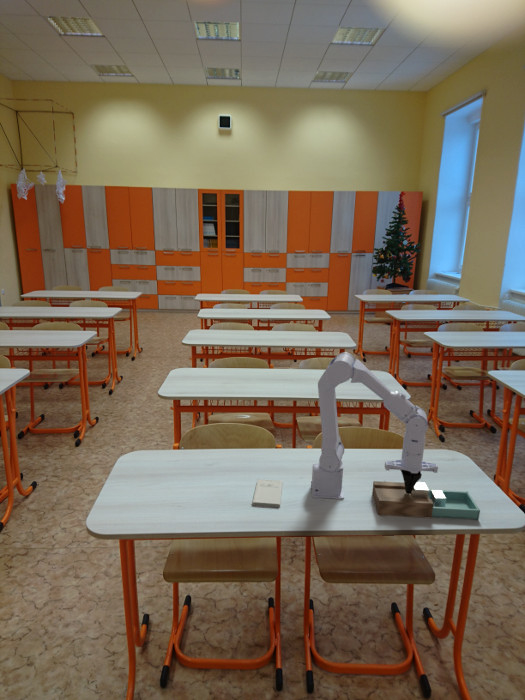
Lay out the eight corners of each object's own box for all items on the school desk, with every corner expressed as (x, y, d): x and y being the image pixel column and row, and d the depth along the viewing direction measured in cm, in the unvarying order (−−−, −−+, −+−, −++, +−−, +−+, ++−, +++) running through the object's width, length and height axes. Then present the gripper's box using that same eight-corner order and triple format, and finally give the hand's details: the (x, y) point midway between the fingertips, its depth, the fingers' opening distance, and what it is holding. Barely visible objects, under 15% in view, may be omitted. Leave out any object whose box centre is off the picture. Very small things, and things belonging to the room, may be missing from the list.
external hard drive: (252, 506, 130) (257, 483, 142) (280, 508, 129) (282, 485, 141) (252, 502, 130) (257, 478, 142) (280, 504, 129) (282, 480, 141)
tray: (431, 517, 126) (433, 507, 125) (422, 497, 135) (423, 489, 134) (478, 519, 125) (480, 510, 124) (466, 500, 134) (467, 491, 133)
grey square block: (413, 498, 127) (414, 489, 127) (410, 490, 131) (411, 481, 130) (427, 499, 127) (429, 490, 126) (423, 491, 131) (425, 482, 130)
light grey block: (435, 498, 127) (446, 498, 127) (431, 490, 131) (441, 490, 131) (434, 510, 128) (444, 510, 128) (430, 501, 132) (440, 502, 132)
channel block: (378, 514, 126) (379, 500, 125) (372, 494, 136) (373, 481, 135) (431, 517, 125) (433, 503, 124) (421, 497, 135) (423, 483, 134)
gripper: (390, 455, 122) (385, 498, 126) (443, 458, 121) (437, 501, 125) (385, 443, 129) (381, 484, 133) (435, 446, 128) (430, 487, 132)
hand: (408, 491), depth 129 cm, fingers closed
